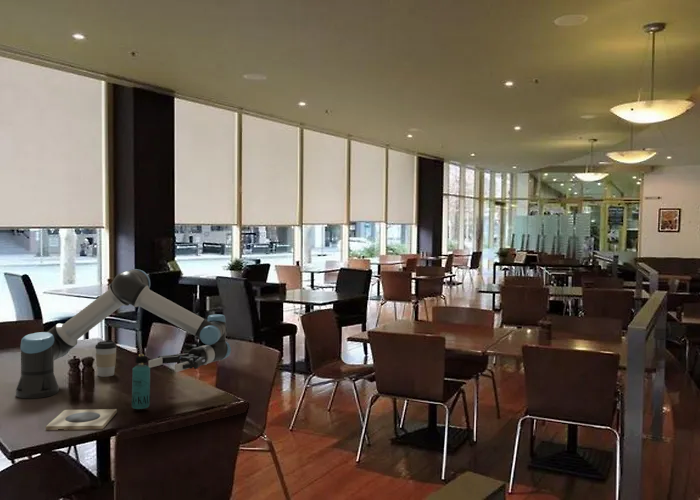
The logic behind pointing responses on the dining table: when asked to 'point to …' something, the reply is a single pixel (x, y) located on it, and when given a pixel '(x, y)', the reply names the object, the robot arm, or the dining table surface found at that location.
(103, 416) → the birch board
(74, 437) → the dining table surface
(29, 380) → the robot arm
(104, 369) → the coffee cup
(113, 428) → the dining table surface
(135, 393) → the beverage bottle
